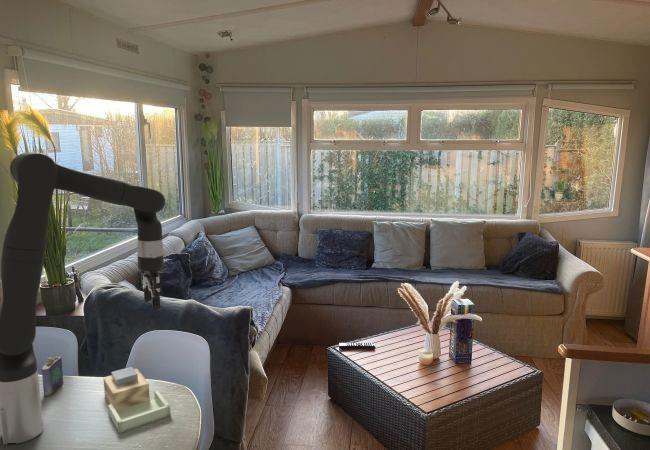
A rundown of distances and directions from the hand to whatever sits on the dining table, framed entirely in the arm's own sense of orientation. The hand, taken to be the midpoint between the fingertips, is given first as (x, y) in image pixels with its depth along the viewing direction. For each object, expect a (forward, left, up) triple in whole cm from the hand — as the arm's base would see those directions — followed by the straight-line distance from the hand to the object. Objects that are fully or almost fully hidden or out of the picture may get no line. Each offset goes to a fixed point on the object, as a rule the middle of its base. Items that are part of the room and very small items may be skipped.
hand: (152, 304), depth 148 cm
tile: (-10, -2, -21) cm, 24 cm away
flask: (-27, +17, -28) cm, 42 cm away
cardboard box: (-10, -3, -27) cm, 29 cm away
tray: (-9, -14, -27) cm, 32 cm away
